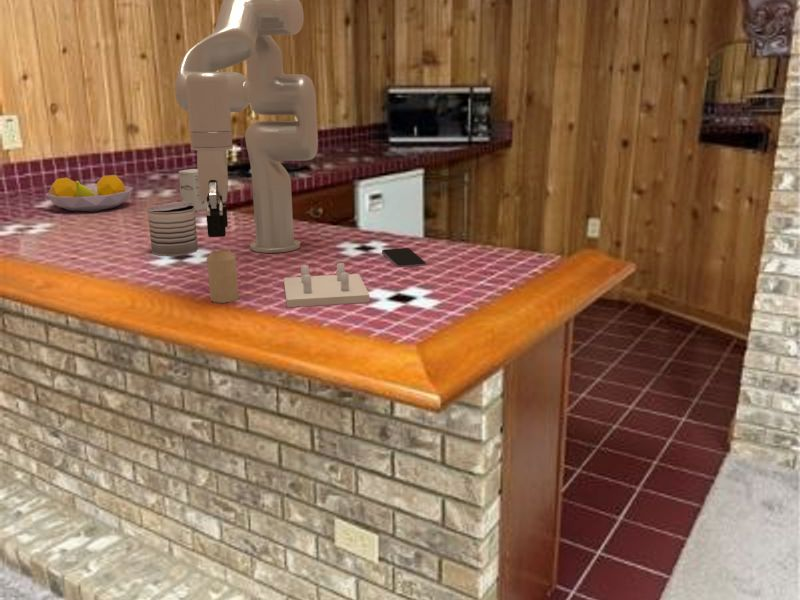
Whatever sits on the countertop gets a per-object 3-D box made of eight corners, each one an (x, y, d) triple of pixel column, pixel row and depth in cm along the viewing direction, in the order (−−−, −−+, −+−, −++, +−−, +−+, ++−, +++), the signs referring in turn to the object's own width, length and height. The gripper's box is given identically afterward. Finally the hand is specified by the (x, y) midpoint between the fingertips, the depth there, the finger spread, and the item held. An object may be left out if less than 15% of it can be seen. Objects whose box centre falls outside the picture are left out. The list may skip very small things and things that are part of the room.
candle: (229, 293, 152) (225, 245, 149) (244, 299, 148) (240, 250, 145) (205, 299, 148) (200, 250, 145) (219, 305, 144) (215, 255, 141)
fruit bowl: (76, 201, 262) (71, 168, 258) (148, 202, 258) (145, 169, 255) (27, 215, 235) (21, 180, 232) (107, 217, 232) (103, 181, 228)
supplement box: (181, 209, 244) (177, 170, 241) (198, 206, 250) (195, 168, 246) (196, 211, 240) (192, 172, 237) (213, 208, 246) (210, 169, 242)
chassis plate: (284, 284, 157) (282, 261, 156) (358, 280, 160) (358, 258, 159) (287, 307, 142) (285, 282, 141) (369, 302, 145) (369, 277, 144)
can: (185, 257, 181) (180, 208, 178) (142, 255, 183) (137, 207, 180) (206, 247, 192) (202, 200, 188) (165, 245, 194) (161, 199, 191)
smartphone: (397, 266, 170) (380, 249, 184) (397, 270, 171) (380, 254, 184) (427, 263, 172) (408, 247, 186) (427, 268, 173) (408, 251, 186)
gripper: (194, 138, 146) (201, 224, 151) (186, 145, 130) (194, 241, 134) (233, 138, 147) (239, 223, 152) (230, 144, 131) (237, 239, 136)
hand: (218, 231), depth 143 cm, fingers open, 9 cm apart
